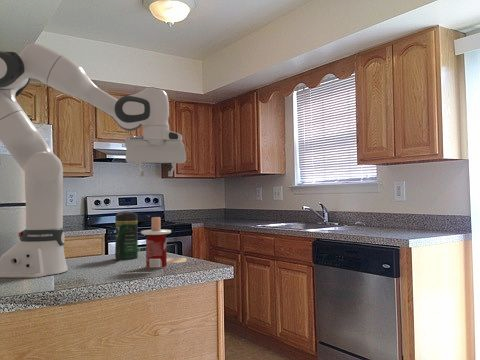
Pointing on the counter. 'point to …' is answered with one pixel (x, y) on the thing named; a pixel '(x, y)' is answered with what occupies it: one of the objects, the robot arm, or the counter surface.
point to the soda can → (156, 251)
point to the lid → (156, 228)
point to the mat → (176, 260)
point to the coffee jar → (126, 236)
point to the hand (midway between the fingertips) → (156, 176)
